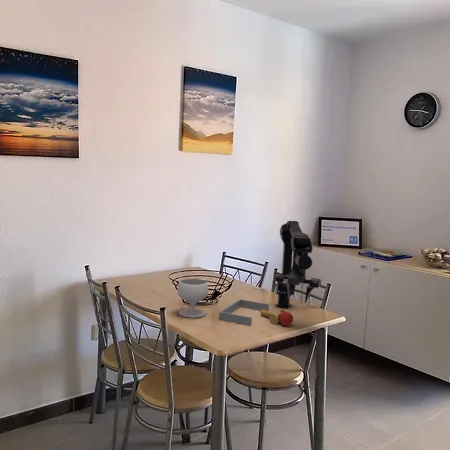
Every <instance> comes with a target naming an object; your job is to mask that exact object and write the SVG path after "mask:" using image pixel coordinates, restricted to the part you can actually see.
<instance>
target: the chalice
mask: <svg viewBox="0 0 450 450" xmlns="http://www.w3.org/2000/svg"><path fill="white" fill-rule="evenodd" d="M176 292H177V295H178V296H179V298H180V299H182V300H184V301H185V302H187V303H188V304H189V308H185V309H180V311H178V315H180V316H181V317H185V318H192V319H194V318H201V317H203V316H206V312H205V311H204V310H201V309H197V308H195V306H196V304H197V303H199V302H200V301H203V300H204V299H206V298H207V297H208V295H209V293H210V291H209V284H208V283H207V281H206V280H205V279H200V278H190V277H189V278H183V279H181V280H179V283H178V285H177V290H176Z"/></svg>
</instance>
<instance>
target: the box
mask: <svg viewBox="0 0 450 450" xmlns="http://www.w3.org/2000/svg"><path fill="white" fill-rule="evenodd" d="M239 308H243V309H251V310H255V311H261V310H266V311H269V309H270V303H264V302H258V301H253V300H247V299H242V298H240V299H237V300H236V301H235V302H233V303H231V304H230V305H228V306H226V307H225V308H223V309H222V310H220V311H219V312H218V320H219V321H224V322H229V323H234V324H237V325H238V324H239V325H243V326H249V327H251V326H252V321H253V318H252V316H246V315H241V314H235V313H234V312H235V311H237V310H238V309H239ZM269 312H270V311H269Z"/></svg>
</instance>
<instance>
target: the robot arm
mask: <svg viewBox="0 0 450 450" xmlns="http://www.w3.org/2000/svg"><path fill="white" fill-rule="evenodd" d="M279 236H280V239H281V241H282V243H283V247H282V248H283V251H282V262H281V263H282V264H281V273H280V272H279V273H278V274H277V275H276V276H275V279H274V280H275V282H276V284H275V288H274V293H275V294H276V295H278V296H277V303H276V304H275V307H276V308H282V309H283V308H284V309H289V308H290V307H292V305H293V304H292V303H291V302H290V301H291V296H294V295H295V290H296V286H299V285H300V284H304V285H305V284H306V285H307V286H306V293H305V297H304V301H305V303H306V302H307V301H308V299H309V297H310V295H311V293H312V290H314V289H318V288H320V287H321V286H322V279H321V278H318V277H317V278H316V277H312V278H310V279H307V278H306V270H309V268H311V267H312V265H313V259H312V258H311V257H310V256H309V254H311V253H312V251H313V244H312V243H313V242H312V240H311V238H310V236H309V234H307V233H305V232H303V231H302V229H301V227H300V223H299V221H297V220H287V222H286V223H284V224H282V225H281V226H280V228H279Z"/></svg>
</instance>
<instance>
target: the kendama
mask: <svg viewBox="0 0 450 450" xmlns="http://www.w3.org/2000/svg"><path fill="white" fill-rule="evenodd" d="M260 316H261V317H268V318H269V319H270V320H269V321H270V322H271V323H272V324H274V325H277V324H279V323H280V324H281V325H282V326H284V327H288V326H291V325H292V324H293V321H294V316H293V314H292V313H291V312H289V311H286V310H285V309H281V310H280V311H279V313H276V312H272V311H266V310H260Z"/></svg>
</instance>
